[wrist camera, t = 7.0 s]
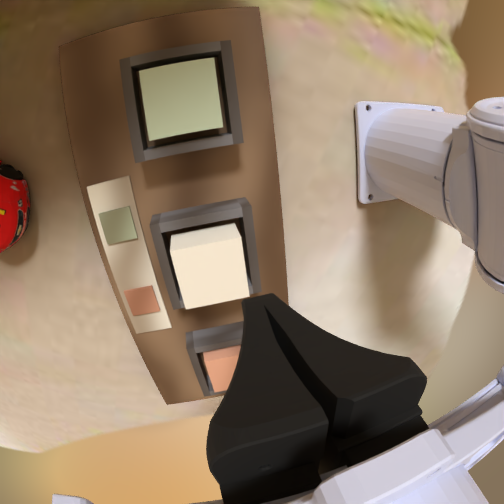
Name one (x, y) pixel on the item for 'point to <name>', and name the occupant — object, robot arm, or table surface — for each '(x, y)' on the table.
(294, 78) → the table surface
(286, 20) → the table surface
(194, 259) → the cream key
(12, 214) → the race car
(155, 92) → the sage key
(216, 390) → the terracotta key
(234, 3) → the table surface
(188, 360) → the keypad
